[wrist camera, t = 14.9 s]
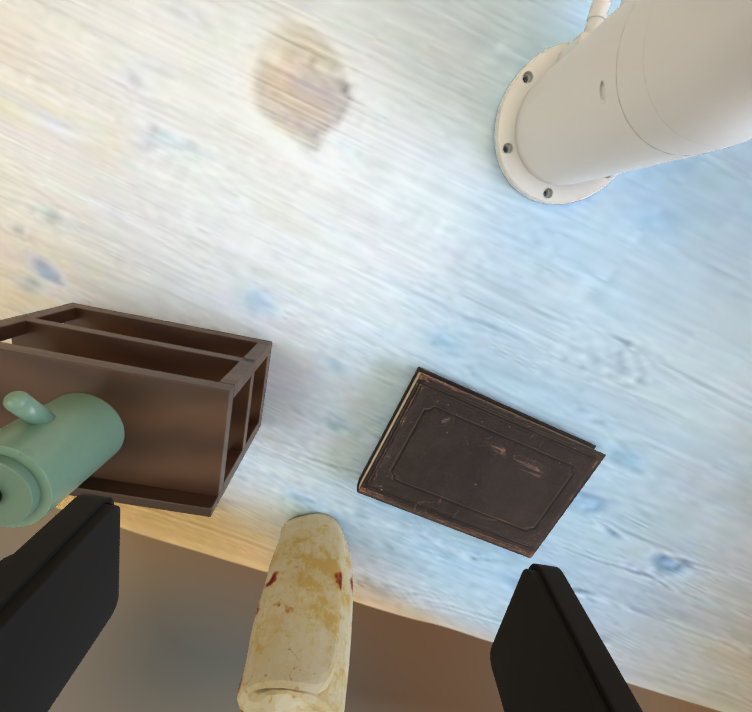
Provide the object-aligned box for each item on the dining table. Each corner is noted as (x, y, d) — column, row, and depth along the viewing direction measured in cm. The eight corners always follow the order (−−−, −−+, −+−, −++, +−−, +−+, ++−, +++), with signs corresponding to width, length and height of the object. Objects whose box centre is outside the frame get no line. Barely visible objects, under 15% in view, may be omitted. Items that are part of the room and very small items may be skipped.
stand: (72, 302, 39) (-93, 341, 25) (272, 341, 41) (222, 398, 27) (74, 393, 42) (-73, 473, 28) (260, 426, 43) (210, 517, 30)
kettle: (42, 353, 27) (-101, 406, 19) (126, 368, 27) (22, 427, 19) (47, 453, 29) (-78, 540, 21) (124, 466, 30) (31, 555, 21)
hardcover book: (418, 366, 42) (421, 374, 40) (594, 444, 45) (606, 455, 43) (356, 482, 46) (356, 495, 44) (522, 546, 49) (529, 561, 47)
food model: (272, 534, 48) (210, 733, 29) (298, 495, 46) (251, 679, 27) (341, 566, 50) (325, 773, 31) (368, 529, 48) (369, 724, 29)
